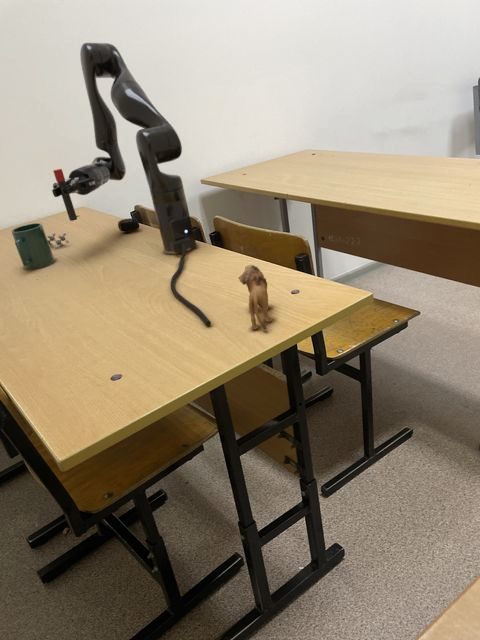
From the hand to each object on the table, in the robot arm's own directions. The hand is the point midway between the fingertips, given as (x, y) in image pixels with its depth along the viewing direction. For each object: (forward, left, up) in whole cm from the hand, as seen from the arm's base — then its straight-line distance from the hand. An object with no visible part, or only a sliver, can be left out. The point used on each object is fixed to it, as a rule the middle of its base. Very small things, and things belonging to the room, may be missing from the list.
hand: (59, 192), depth 146 cm
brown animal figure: (-74, -12, -21) cm, 78 cm away
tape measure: (+19, -24, -19) cm, 36 cm away
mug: (+12, +10, -21) cm, 26 cm away
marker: (+2, -2, -8) cm, 9 cm away
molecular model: (+29, +1, -21) cm, 36 cm away
